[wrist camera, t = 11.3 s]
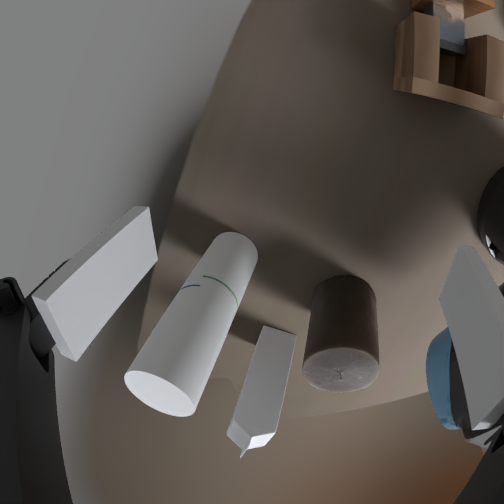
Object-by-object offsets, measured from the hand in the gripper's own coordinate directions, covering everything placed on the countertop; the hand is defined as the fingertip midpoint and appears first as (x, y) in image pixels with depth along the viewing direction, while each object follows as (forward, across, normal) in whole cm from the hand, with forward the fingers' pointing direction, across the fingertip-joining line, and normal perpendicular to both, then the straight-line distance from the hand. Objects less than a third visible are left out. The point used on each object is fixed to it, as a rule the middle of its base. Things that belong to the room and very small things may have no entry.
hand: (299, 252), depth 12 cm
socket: (+27, -13, -11) cm, 32 cm away
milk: (+27, +4, +35) cm, 44 cm away
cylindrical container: (+27, +11, +18) cm, 34 cm away
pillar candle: (+27, -6, +24) cm, 37 cm away
